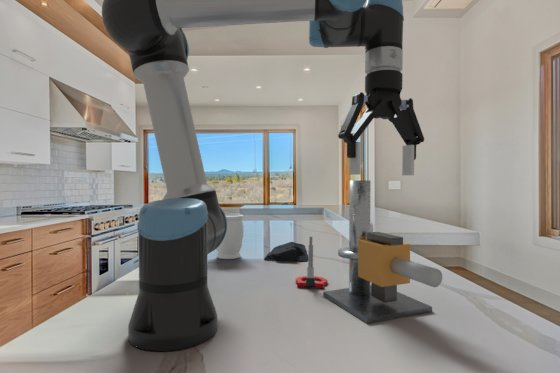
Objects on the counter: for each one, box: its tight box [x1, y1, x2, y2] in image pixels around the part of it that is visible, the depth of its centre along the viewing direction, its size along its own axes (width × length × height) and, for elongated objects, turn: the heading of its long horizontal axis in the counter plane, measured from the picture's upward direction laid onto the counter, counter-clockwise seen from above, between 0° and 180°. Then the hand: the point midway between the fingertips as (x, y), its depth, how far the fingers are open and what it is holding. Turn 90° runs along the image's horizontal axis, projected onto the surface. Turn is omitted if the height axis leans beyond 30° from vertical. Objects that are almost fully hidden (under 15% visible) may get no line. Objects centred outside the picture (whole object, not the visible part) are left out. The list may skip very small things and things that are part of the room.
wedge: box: [367, 231, 404, 303], centre depth 73 cm, size 3×8×14 cm, turn 22°
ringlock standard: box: [322, 179, 433, 324], centre depth 76 cm, size 16×19×27 cm
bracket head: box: [358, 239, 443, 288], centre depth 68 cm, size 7×18×8 cm, turn 22°
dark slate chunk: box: [263, 241, 308, 263], centre depth 126 cm, size 15×22×5 cm
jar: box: [215, 213, 244, 260], centre depth 122 cm, size 11×10×15 cm
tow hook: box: [295, 236, 328, 289], centre depth 91 cm, size 8×13×9 cm
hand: (382, 175), depth 73 cm, fingers open, 13 cm apart
